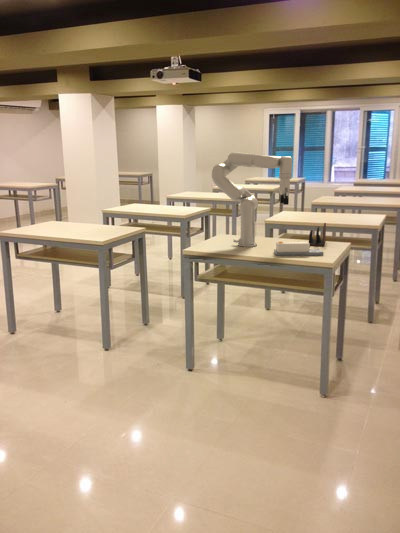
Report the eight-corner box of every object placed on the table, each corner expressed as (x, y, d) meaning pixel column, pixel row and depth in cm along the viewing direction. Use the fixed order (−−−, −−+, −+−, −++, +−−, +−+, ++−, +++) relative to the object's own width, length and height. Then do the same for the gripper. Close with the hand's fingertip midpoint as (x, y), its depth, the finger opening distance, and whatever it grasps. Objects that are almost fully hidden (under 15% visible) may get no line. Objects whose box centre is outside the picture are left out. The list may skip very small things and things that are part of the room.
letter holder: (325, 241, 337) (326, 221, 334) (323, 246, 319) (325, 225, 315) (310, 240, 340) (311, 220, 337) (308, 246, 322) (309, 224, 318)
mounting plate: (276, 256, 291) (277, 249, 290) (273, 252, 301) (274, 245, 300) (323, 255, 292) (323, 248, 291) (318, 252, 302) (319, 245, 301)
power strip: (277, 252, 293) (278, 242, 291) (276, 250, 298) (276, 241, 297) (309, 251, 293) (309, 242, 292) (306, 249, 299) (307, 240, 298)
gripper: (276, 175, 315) (275, 202, 319) (282, 177, 298) (281, 205, 302) (288, 175, 315) (287, 202, 319) (294, 177, 299) (293, 205, 303)
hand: (284, 203), depth 311 cm, fingers open, 9 cm apart
